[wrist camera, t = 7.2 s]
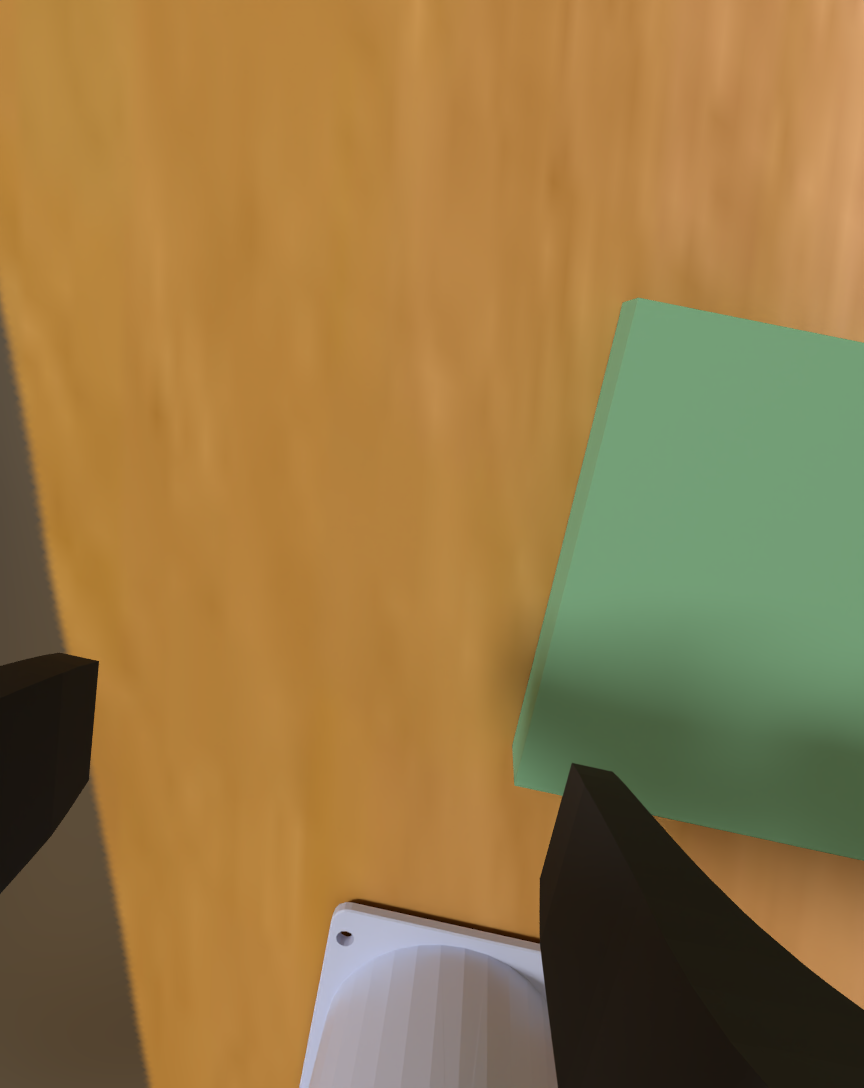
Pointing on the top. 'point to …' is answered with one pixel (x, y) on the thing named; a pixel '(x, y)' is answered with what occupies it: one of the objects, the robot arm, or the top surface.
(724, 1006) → the robot arm
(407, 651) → the top surface
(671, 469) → the green
